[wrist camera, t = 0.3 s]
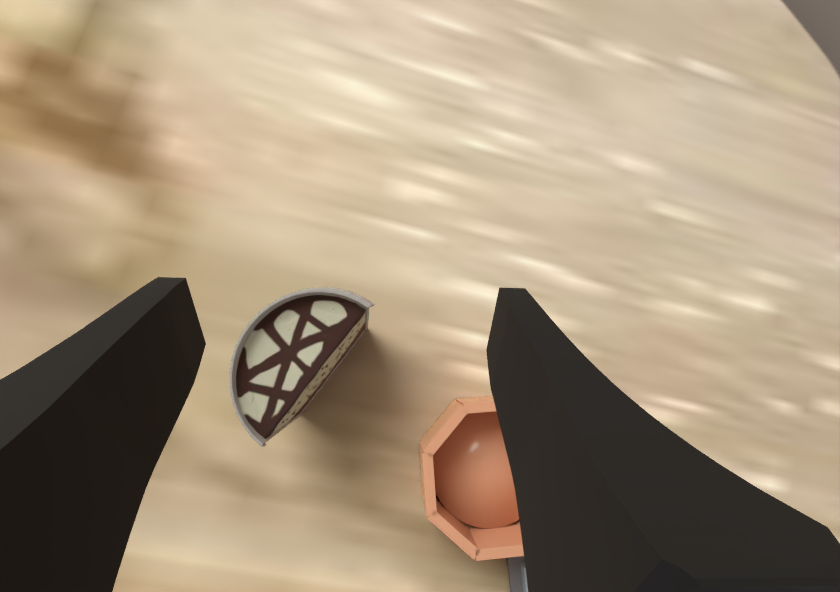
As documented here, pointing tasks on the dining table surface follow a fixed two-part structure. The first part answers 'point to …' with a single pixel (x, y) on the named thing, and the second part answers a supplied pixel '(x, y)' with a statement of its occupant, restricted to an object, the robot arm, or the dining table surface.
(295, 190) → the dining table surface
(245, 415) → the food container
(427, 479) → the bowl
